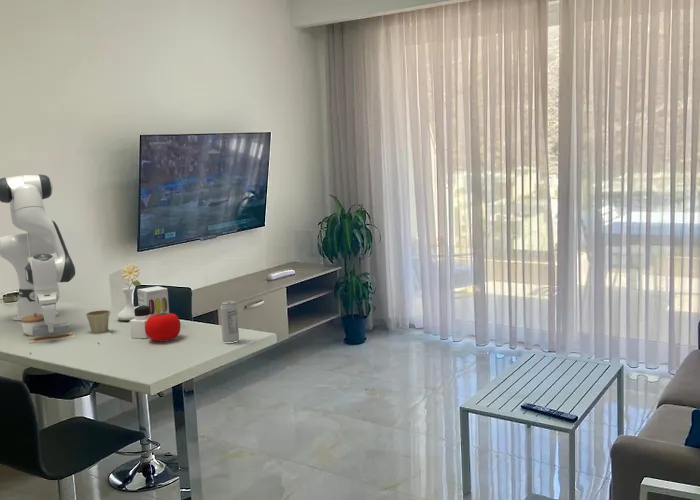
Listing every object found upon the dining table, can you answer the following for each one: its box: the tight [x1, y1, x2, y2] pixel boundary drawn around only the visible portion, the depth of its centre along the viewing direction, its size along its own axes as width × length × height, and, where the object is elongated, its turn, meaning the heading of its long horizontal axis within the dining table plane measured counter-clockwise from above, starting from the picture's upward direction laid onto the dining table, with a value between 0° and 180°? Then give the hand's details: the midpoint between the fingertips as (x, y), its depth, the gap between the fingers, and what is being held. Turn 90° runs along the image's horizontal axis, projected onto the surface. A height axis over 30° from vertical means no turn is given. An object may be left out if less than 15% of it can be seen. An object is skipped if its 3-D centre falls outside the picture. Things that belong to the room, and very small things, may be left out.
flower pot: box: [85, 309, 111, 334], centre depth 270 cm, size 9×9×9 cm
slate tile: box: [32, 321, 70, 337], centre depth 263 cm, size 6×13×2 cm, turn 116°
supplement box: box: [137, 285, 170, 317], centre depth 273 cm, size 10×9×17 cm
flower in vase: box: [116, 262, 142, 321], centre depth 291 cm, size 13×11×25 cm
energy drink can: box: [219, 300, 240, 342], centre depth 247 cm, size 6×6×15 cm
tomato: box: [145, 312, 181, 342], centre depth 256 cm, size 14×13×10 cm
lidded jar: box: [20, 313, 47, 337], centre depth 271 cm, size 11×11×9 cm
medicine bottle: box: [129, 305, 150, 339], centre depth 262 cm, size 7×7×12 cm
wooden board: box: [28, 331, 74, 344], centre depth 263 cm, size 10×16×1 cm, turn 116°
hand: (50, 329), depth 263 cm, fingers closed on slate tile, 6 cm apart
